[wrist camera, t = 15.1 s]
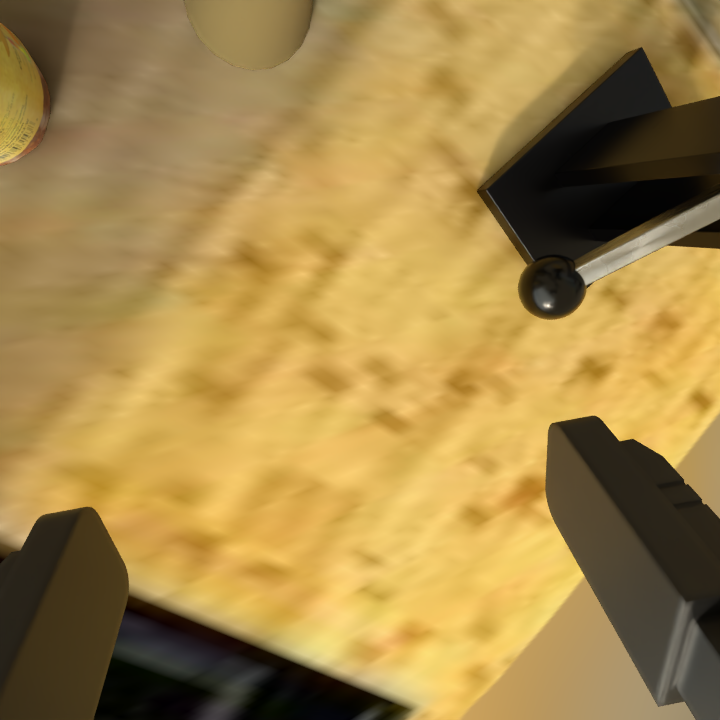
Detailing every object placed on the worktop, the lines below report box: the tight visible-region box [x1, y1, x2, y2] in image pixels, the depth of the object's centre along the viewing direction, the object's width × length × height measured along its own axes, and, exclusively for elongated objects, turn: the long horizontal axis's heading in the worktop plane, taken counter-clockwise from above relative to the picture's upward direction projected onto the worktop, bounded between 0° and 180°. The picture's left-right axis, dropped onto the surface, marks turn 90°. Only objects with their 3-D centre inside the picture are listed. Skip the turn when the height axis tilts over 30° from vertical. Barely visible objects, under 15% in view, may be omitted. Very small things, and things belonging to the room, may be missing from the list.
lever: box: [518, 183, 720, 320], centre depth 25 cm, size 13×3×3 cm
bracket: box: [477, 47, 720, 288], centre depth 27 cm, size 12×9×14 cm
